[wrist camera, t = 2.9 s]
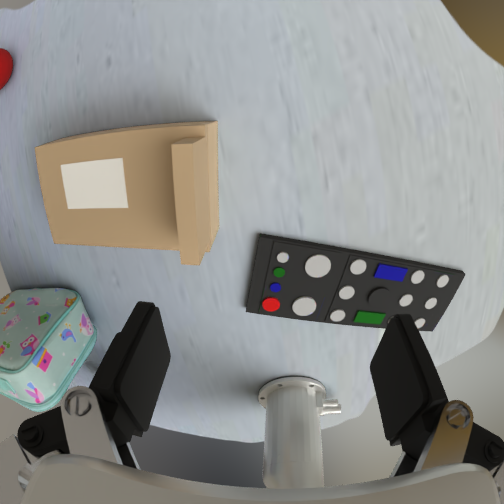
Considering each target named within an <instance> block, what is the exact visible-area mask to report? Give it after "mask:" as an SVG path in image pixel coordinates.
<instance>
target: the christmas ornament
mask: <svg viewBox="0 0 504 504" xmlns="http://www.w3.org/2000/svg"><path fill="white" fill-rule="evenodd" d="M12 69H13V60H12V57H11V55H10V53H9V52H8V51H6V50H4V49H1V48H0V90H1V89H2V88H3V87H4V86H5V84H6V83H7V82H8V80H9V78H10V76H11V73H12Z"/></svg>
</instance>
